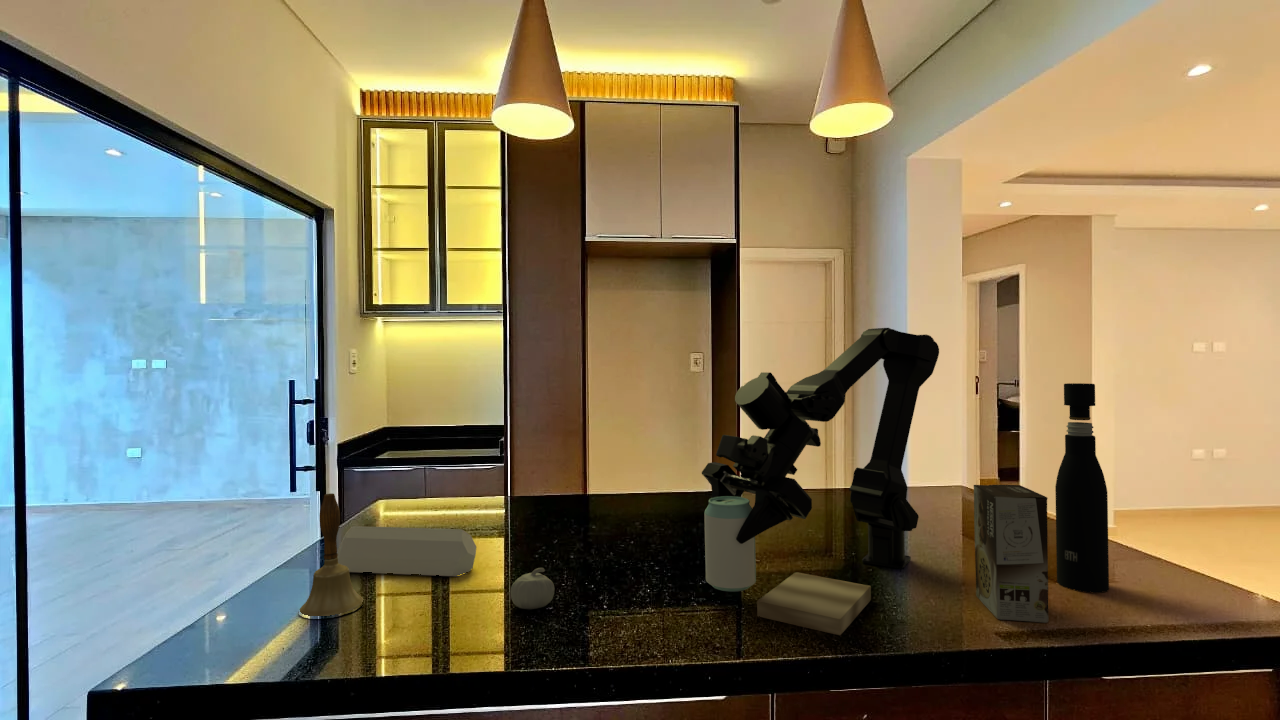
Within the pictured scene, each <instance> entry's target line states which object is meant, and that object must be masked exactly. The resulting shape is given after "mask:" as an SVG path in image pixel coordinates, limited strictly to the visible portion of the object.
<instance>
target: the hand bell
mask: <svg viewBox="0 0 1280 720" xmlns="http://www.w3.org/2000/svg"><path fill="white" fill-rule="evenodd" d="M340 523H341V512H340V507H339V504H338V501H337V500H336V496H335V493H325V494H324V495H323V499H322V502H321V505H320V509H319V527H320V530H321V533H322V537H323V542H324V544H323V545H324V549H323V551H324V552H323V553H324V555H323V558H324V564H323V566H321V567H320V568H318V569H317V570H315V572H313V577H312V585H311V590H310V593H309V595H308V598H307V599H306V601H305V602H304V603H303V604H302V605H301V607H300V608H299V610H300V612H301V613H302V614H304V615H308V616H330V615H335V614H340V613H344V612H347V611H350V610H353V609H355V608H357V607H358V606H359V605H361V604H362V602H363V600H364V598H363V597H362V596H361V595H360V594H358V593H357V591H356V590H355V589H354V588H355V587H354V586H353V584H352V581H351V576H350V575H351V574H350V572H349V568H348V567H347V566H344V565H341V564H339V563H338V557H337V556H338V545H337V544H338V543H337V540H338V539H337V538H338V532H339V528H340Z"/></svg>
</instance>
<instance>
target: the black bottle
mask: <svg viewBox="0 0 1280 720" xmlns="http://www.w3.org/2000/svg"><path fill="white" fill-rule="evenodd" d="M1063 406H1069V416H1068V418H1069V420H1070V421H1069V422H1067V425H1066V428H1067V430H1066V434H1065V436H1064V449H1065V450H1064V451H1065V453H1064V455H1063V457H1062V460H1061V463H1060V466H1059V468H1058V472H1057V476H1056V481H1055V486H1054V487H1055V490H1054V491H1055V540H1056V542H1055V544H1056V545H1055V546H1056V547H1055V548H1056V549H1055V551H1056V552H1055V553H1056V554H1055V555H1056V582H1057V583H1058V585H1060V586H1062V587H1064V588H1066V587H1067V589H1069V588H1070V590H1073V589H1075V590H1074V591H1077V590H1078V591H1077V592H1083V591H1084V592H1083V593H1091V592H1093V594H1094V593H1096V594H1097V593H1098V594H1100V593H1101V594H1102V593H1106V592H1108V591H1109V590H1110V572H1109V571H1110V570H1109V569H1110V568H1109V567H1110V566H1109V565H1110V564H1109V561H1110V560H1109V513H1108V511H1109V509H1108V507H1109V506H1108V503H1109V501H1108V498H1109V497H1108V487H1107V484H1106V483H1107V482H1106V480H1105V475H1104V471H1103V470H1102V467H1101V465H1100V462H1099V459H1098V457H1097V455H1096V453H1097V451H1096V449H1097V446H1096V436H1095V435H1093V433H1094V430H1093V429H1094V426H1093V423H1092V422H1084V421H1090V420H1091V419H1092V418H1091V410H1090V409H1091V407H1095V406H1096V384H1095V383H1085V382H1084V383H1081V382H1080V383H1078V382H1077V383H1075V382H1073V383H1070V382H1069V383H1063ZM1071 420H1072V421H1071ZM1078 421H1080V422H1078Z"/></svg>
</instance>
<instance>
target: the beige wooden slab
mask: <svg viewBox="0 0 1280 720" xmlns="http://www.w3.org/2000/svg"><path fill="white" fill-rule="evenodd" d="M871 591H872V587H871V585H868V584H861V583H856V582H851V581H845V580H840V579H834V578H830V577H825V576H819V575H814V574H809V573H803V572H798V571H796V572H794V573H793V574H791V575H790V576H789V577H787V578H785V580H783V581H782V582H781V583H779V584H778V585H777V586H775V587H774V588H772V589H771V590H770V591H769V592H767V593H766V594H764V595H763V596H761V598H759V599H758V600H756V601H757V602H756V606H757V607H756V608H757V609H756V610H757V612H756V614H757V615H756V617H759V616H760V618H763V619H769V620H772V621H777V622H781V623H785V624H789V625H790V624H791V625H792V626H793V625H794V626H798V627H803V628H807V629H811V630H815V631H820V632H823V633H824V632H825V633H828V634H832V635H836V636H842V634H843V633H844V632H845V631H846V630H847V628H849V626H850V625H851V624H852V623H853V622H854V620H855V619H856V618H857V617H858V616H859V615H860V614H861V612H862V611H863V610H864V609H865V607H867V605H868V604H869V603H870V602H871V599H872V593H871Z"/></svg>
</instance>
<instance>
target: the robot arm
mask: <svg viewBox="0 0 1280 720" xmlns="http://www.w3.org/2000/svg"><path fill="white" fill-rule="evenodd" d="M939 347H940V346H939V344H938V343H937V342H936V341H935V339H934V338H933V337H932V336H931V335H930V334H914V333H908V332H902V331H898V330H896V329H894V328H893V329H892V328H890V327H879V328H878V327H877V328H868V329H866V330H865V331H863V332H862V333H861V334H860V337H859V338H858V339H857V340H855V342H853V344H851V345H850V346H849V347H848V348H847V349H846V350H845V351H843V352H842V353H841V354H840V355H839V356H838V357H836V359H835V360H833V361H832V362H831V363H830V364H829V365H828V366H827V367H826V368H824V369H823V370H822V371H820V372H818V373H815V374H812V375H809V376H806V377H804V378H802V379H801V380H798V381H796V383H794V384H792V385H791V386H789V388H788V390H786V391H785V390H784V388H782V386H781V385H780V384H779V383H778V381H777V378H776V377H775V376H774V375H773V373H772V372H769V371H768V372H767V371H766V372H764V371H763V372H760V373H759V374H758V376H757V377H755V378H752V379H751V380H749V381H748V382H746V383H745V384H744V385H742V386H740V387H739V389H738V390H737V391H736V393H735V396H734V402H735V403H736V404H737V405H738V406H739V407H740V409H741V410H742V411H743V412H744V413H745V415H746V416H747V417H748V418H749V420H751V422H752V423H753V424H754V425H755V427H756V428H758V429H759V430H763V431H764V430H768V431H767V433H766V434H765V436H764V437H763V436H760V435H754V434H753V435H750V437H749V438H743V437H740V436H736V435H727V434H722V436H721V438H720V441H719V443H718V444H719V445H718V447H717V450H716V453H715V456H716V457H718V458H724V459H726V460H728V461H731V463H734V464H733V466H732V467H733V468H734V469H735V471H737V472H739V473H740V475H738V474H737V473H736V472H735V471H734V470H733V469H732V467H730V465H729V464H724V463H722V462H721V463H720V462H717V461H716V462H715V461H713V462H712V461H711V462H708V463H707V464H706V466H705V467H704V468H703V470H702V471H701V475H702V476H703V477H704V479H706V480H707V482H708V483H709V484H710V486H711V491H712V494H711V498H714V497H721V496H736V497H742V495H743V494H744V492H745V493H750V494H754V495H755V497H754V499H755V500H754V505H753V507H752V510H751V512H750V513H749V515H748V517H747V519H746V520H745V522H744V524H743V526H742V527H741V529H740V531H739V533H738V535H737V537H736V540H737V541H738V542H739V543H740V544H743V543H745V542H746V541H748V540H750V539H751V538H753V537H755V538H756V536H758V535H760V534H762V533H763V532H765V531H767V530H769V529H771V528H773V527H775V526H777V525H779V524H781V523H784V522H785V521H792V520H793V519H794V517H796V518H800V519H802V520H806V519H807V517H808V515H809V514H810V512H811V510H812V509H813V500H812V497H811V496H810V495H809V494H808V493H807V492H806V490H805V489H804V488H803V487H802V485H800V484H799V483H798V482H797V480H796V479H795V478H792V477H787V475H793V476H794V475H795V474H796V473H797V472H798V468H797V467H796V466H795V463H796V462H797V460H798V459H799V456H800V455H801V454H802V452H803V451H804V449H805V448H806V446H811V447H812V446H813V447H821V445H822V443H821V438H820V436H819V429H818V428H815V427H811V425H810V424H809V423H808V422H807V421H812V422H821V423H822V422H823V423H826V422H827V423H828V422H829V421H832V419H834V418H835V416H836V415H837V414H838V413H839V411H841V408H842V407H843V406H844V405H845V402H846V394H847V393H848V391H849V390H850V388H852V386H854V385H855V384H856V383H857V382H858V381H859V380H861V378H862V377H863V376H864V375H865V374H867V373H868V372H869V371H870V370H871V369H872V368H873V367H874V366H875V365H876V364H877V363H878V362H880V360H883V362H882V366H883V369H884V372H885V374H886V377H887V381H888V383H887V387H886V392H885V396H884V400H883V405H882V409H881V413H880V418H879V422H878V425H877V426H878V427H877V431H876V433H875V439H874V443H873V448H872V453H871V457H870V460H869V462H868V463H867V464H866V465H865V466H864V467H863V468H862V467H856V468H855V470H854V471H853V476H852V482H851V484H850V487H849V488H848V491H849V492H850V497H849V499H850V501H849V502H850V503H851V505H852V508H853V511H854V515H855V519H856V521H857V522H860V523H866V524H867V536H868V537H867V540H868V543H867V544H868V545H867V546H868V552H867V554H866V555H865V556H864V557H862V559H861V563H864V564H870V565H874V566H880V567H881V566H882V567H887V568H893V569H900V570H902V569H904V568H905V567H906V566H907V564H908V563H909V562H911V560H912V559H911V556H909V555H905V553H906V551H905V549H906V547H905V546H906V545H905V538H906V537H905V536H906V535H905V532H913V530H914V529H916V528H917V527H918V521H919V514H918V512H916V510H915V509H914V508H913V506H912V505H911V504H910V502H909V501H908V500H907V497H908V484H907V482H906V479H905V476H904V473H903V471H902V466H903V462H904V460H905V459H904V458H905V455H906V453H905V452H906V449H907V444H908V440H909V435H910V431H911V427H912V423H913V418H914V413H915V409H916V404H917V400H918V399H917V398H918V395H919V391H920V388H921V386H923V384H924V383H925V382H926V381H927V380H928V379H929V378H930V377H931V376H932V375H933V373H934V371H935V368H936V367H935V366H936V364H937V362H938V358H939V355H940V348H939ZM703 528H704V529H705V524H704V525H703Z"/></svg>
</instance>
